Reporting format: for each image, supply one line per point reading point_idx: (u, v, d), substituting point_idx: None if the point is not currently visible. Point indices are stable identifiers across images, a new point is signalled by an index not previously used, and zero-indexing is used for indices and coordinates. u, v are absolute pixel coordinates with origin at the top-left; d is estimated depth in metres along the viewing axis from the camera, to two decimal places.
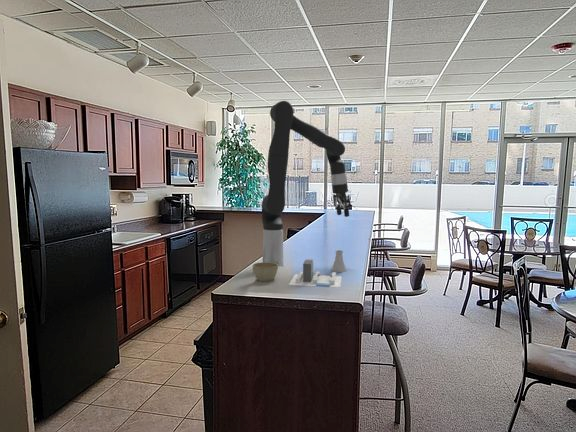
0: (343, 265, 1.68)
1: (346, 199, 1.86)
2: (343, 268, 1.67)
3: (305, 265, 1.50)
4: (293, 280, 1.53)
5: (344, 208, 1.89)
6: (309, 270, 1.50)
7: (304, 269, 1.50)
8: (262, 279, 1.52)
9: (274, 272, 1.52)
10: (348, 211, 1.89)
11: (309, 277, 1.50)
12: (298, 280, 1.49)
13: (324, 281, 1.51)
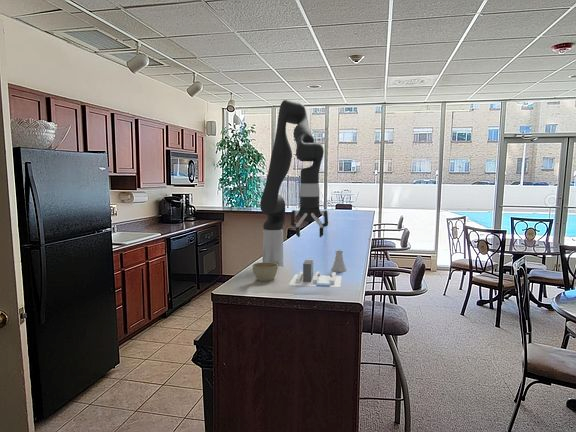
0: (343, 265, 1.68)
1: None
2: (343, 268, 1.67)
3: (305, 265, 1.50)
4: (293, 280, 1.53)
5: None
6: (309, 270, 1.50)
7: (304, 269, 1.50)
8: (262, 279, 1.52)
9: (274, 272, 1.52)
10: None
11: (309, 277, 1.50)
12: (298, 280, 1.49)
13: (324, 281, 1.51)
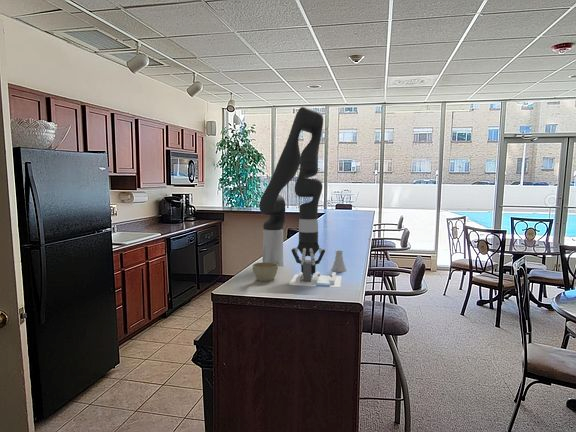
0: (343, 265, 1.68)
1: None
2: (343, 268, 1.67)
3: (305, 265, 1.50)
4: (293, 280, 1.53)
5: None
6: (309, 270, 1.50)
7: (304, 269, 1.50)
8: (262, 279, 1.52)
9: (274, 272, 1.52)
10: (301, 267, 1.54)
11: (309, 277, 1.50)
12: (298, 280, 1.49)
13: (324, 281, 1.51)
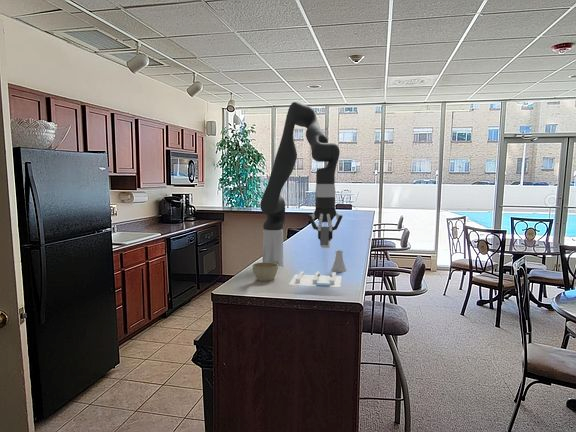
0: (343, 265, 1.68)
1: None
2: (343, 268, 1.67)
3: (323, 228, 1.49)
4: (293, 280, 1.53)
5: None
6: (327, 233, 1.48)
7: (322, 232, 1.49)
8: (262, 279, 1.52)
9: (274, 272, 1.52)
10: (318, 234, 1.52)
11: (326, 240, 1.48)
12: (298, 280, 1.49)
13: (324, 281, 1.51)
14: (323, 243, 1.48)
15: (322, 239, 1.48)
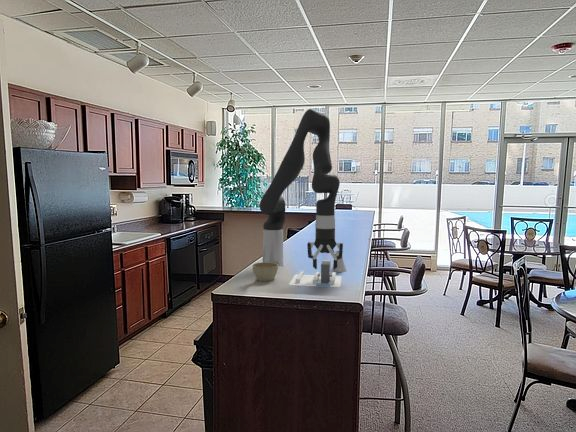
0: (343, 265, 1.68)
1: None
2: (343, 268, 1.67)
3: (323, 266, 1.48)
4: (293, 280, 1.53)
5: None
6: (327, 271, 1.48)
7: (322, 270, 1.48)
8: (262, 279, 1.52)
9: (274, 272, 1.52)
10: None
11: (327, 278, 1.48)
12: (298, 280, 1.49)
13: None
14: (324, 281, 1.49)
15: (323, 277, 1.49)
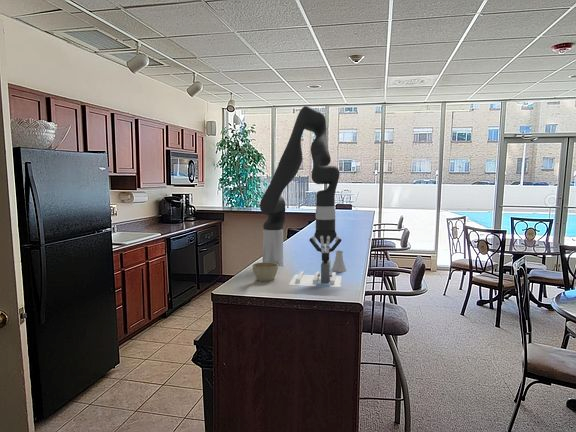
0: (343, 265, 1.68)
1: None
2: (343, 268, 1.67)
3: (323, 266, 1.48)
4: (293, 280, 1.53)
5: None
6: (327, 271, 1.48)
7: (322, 270, 1.48)
8: (262, 279, 1.52)
9: (274, 272, 1.52)
10: None
11: (327, 278, 1.48)
12: (298, 280, 1.49)
13: None
14: (324, 281, 1.49)
15: (323, 277, 1.49)
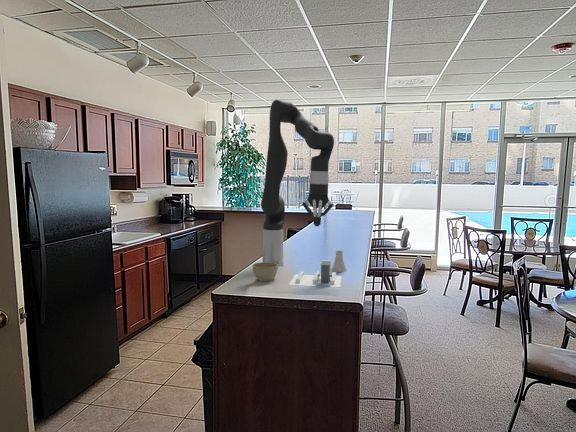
0: (343, 265, 1.68)
1: None
2: (343, 268, 1.67)
3: (323, 266, 1.48)
4: (293, 280, 1.53)
5: None
6: (327, 271, 1.48)
7: (322, 270, 1.48)
8: (262, 279, 1.52)
9: (274, 272, 1.52)
10: None
11: (327, 278, 1.48)
12: (298, 280, 1.49)
13: None
14: (324, 281, 1.49)
15: (323, 277, 1.49)
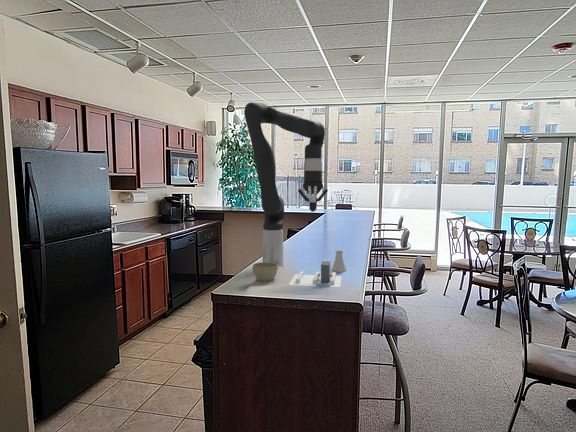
0: (343, 265, 1.68)
1: None
2: (343, 268, 1.67)
3: (323, 266, 1.48)
4: (293, 280, 1.53)
5: None
6: (327, 271, 1.48)
7: (322, 270, 1.48)
8: (262, 279, 1.52)
9: (274, 272, 1.52)
10: (309, 205, 1.65)
11: (327, 278, 1.48)
12: (298, 280, 1.49)
13: None
14: (324, 281, 1.49)
15: (323, 277, 1.49)
